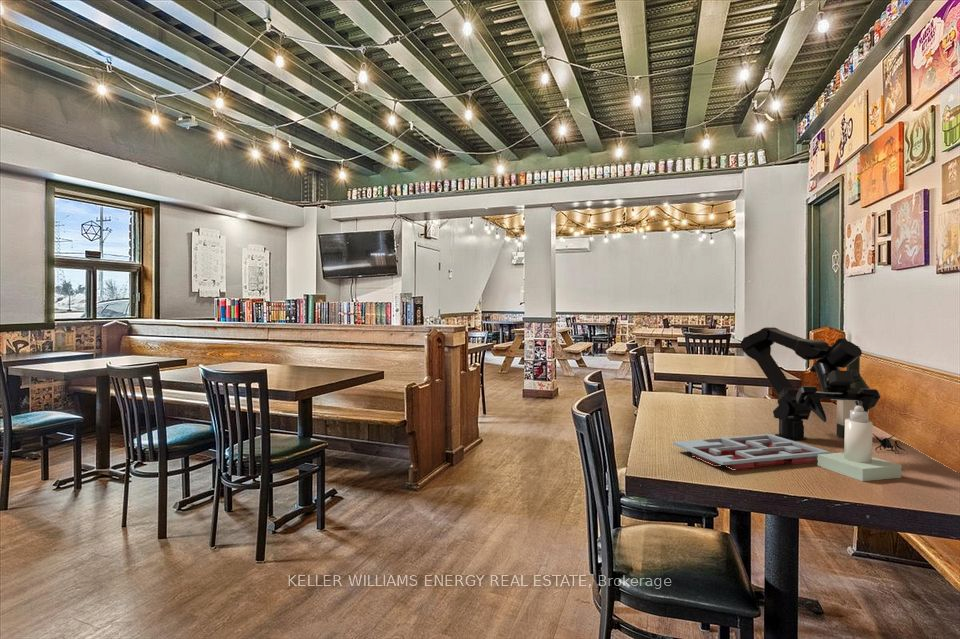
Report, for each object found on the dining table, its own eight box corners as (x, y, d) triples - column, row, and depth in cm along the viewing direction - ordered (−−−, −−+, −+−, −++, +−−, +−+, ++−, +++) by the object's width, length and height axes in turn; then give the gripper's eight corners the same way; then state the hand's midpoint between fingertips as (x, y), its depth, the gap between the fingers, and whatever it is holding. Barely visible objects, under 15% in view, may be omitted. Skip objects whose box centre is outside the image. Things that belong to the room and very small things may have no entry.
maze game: (769, 443, 150) (769, 433, 150) (829, 463, 131) (829, 451, 131) (672, 452, 141) (673, 441, 141) (722, 474, 122) (722, 462, 122)
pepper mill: (838, 456, 125) (839, 403, 125) (855, 455, 126) (856, 402, 126) (859, 463, 120) (861, 408, 119) (877, 462, 121) (878, 407, 120)
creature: (912, 460, 136) (896, 447, 143) (915, 443, 134) (898, 430, 142) (880, 458, 137) (865, 445, 145) (883, 441, 136) (868, 429, 144)
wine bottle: (875, 439, 153) (876, 346, 153) (856, 441, 151) (857, 346, 150) (848, 433, 161) (849, 344, 161) (830, 435, 159) (831, 345, 158)
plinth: (817, 465, 128) (817, 454, 127) (853, 462, 130) (853, 451, 130) (862, 481, 116) (862, 469, 116) (901, 477, 118) (901, 465, 118)
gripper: (799, 358, 138) (813, 403, 127) (877, 360, 132) (898, 407, 122) (790, 381, 145) (802, 425, 135) (864, 384, 140) (882, 431, 129)
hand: (845, 422), depth 130 cm, fingers open, 9 cm apart
